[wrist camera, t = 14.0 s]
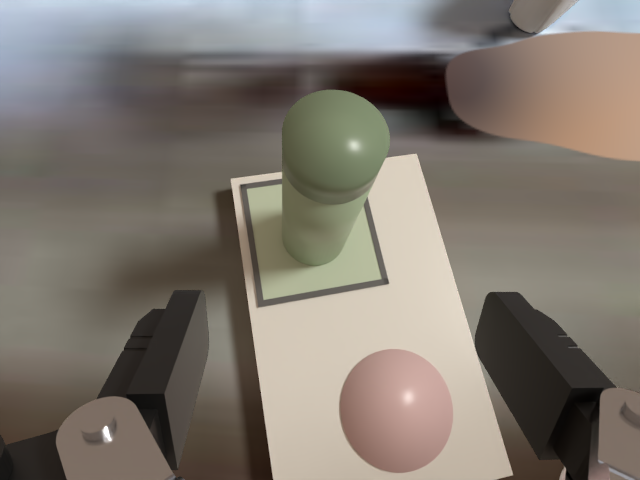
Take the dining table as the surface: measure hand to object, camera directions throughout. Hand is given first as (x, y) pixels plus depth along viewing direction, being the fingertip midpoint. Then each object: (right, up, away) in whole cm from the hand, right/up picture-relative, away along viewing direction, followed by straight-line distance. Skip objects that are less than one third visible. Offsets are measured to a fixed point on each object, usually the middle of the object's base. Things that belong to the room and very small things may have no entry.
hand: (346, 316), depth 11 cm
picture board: (+2, -3, +16) cm, 17 cm away
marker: (-1, +3, +16) cm, 16 cm away
